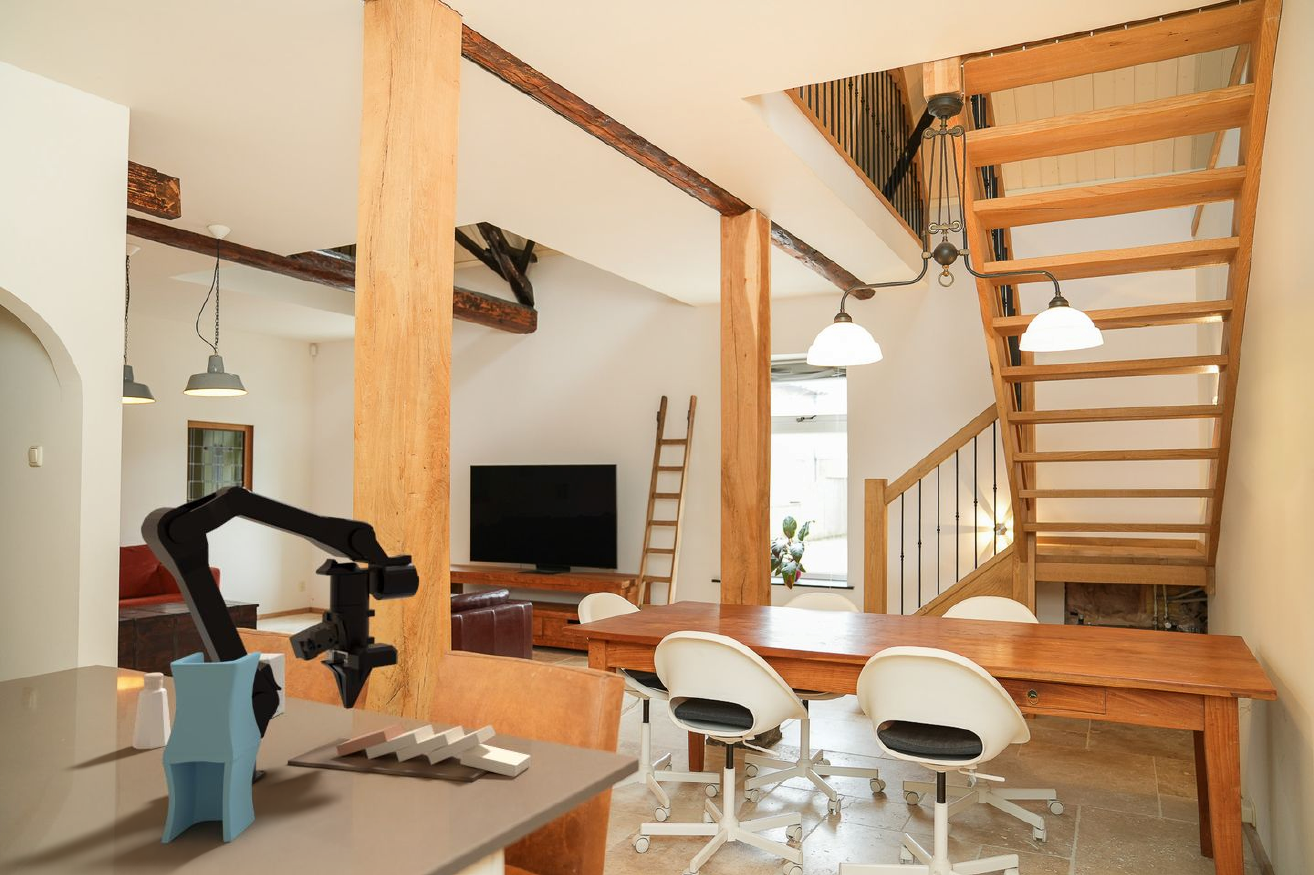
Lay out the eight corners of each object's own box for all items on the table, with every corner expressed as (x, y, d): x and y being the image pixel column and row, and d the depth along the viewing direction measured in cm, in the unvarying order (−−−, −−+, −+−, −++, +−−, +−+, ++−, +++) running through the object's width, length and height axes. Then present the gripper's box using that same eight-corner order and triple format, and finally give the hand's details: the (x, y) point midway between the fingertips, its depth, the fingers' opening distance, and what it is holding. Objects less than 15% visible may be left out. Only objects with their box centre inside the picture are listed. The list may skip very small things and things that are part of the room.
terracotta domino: (358, 747, 138) (405, 732, 136) (339, 756, 133) (386, 741, 131) (355, 737, 138) (402, 722, 136) (336, 746, 133) (383, 730, 131)
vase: (259, 816, 111) (262, 651, 112) (231, 841, 103) (234, 663, 104) (194, 817, 110) (197, 652, 111) (160, 843, 102) (164, 664, 103)
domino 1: (387, 750, 136) (434, 734, 134) (368, 759, 132) (417, 743, 130) (384, 739, 137) (431, 724, 135) (365, 748, 132) (413, 732, 130)
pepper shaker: (153, 738, 146) (155, 669, 146) (179, 741, 144) (180, 671, 144) (123, 748, 140) (125, 676, 141) (150, 751, 139) (151, 678, 139)
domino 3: (448, 755, 134) (495, 734, 132) (431, 764, 129) (480, 743, 127) (444, 744, 134) (491, 724, 132) (427, 754, 129) (475, 732, 127)
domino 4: (476, 754, 132) (529, 766, 130) (460, 763, 128) (514, 777, 125) (477, 743, 132) (530, 755, 130) (461, 752, 128) (516, 765, 125)
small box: (285, 712, 162) (286, 653, 163) (269, 720, 157) (270, 659, 157) (243, 711, 163) (244, 652, 164) (225, 719, 158) (226, 658, 158)
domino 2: (417, 752, 135) (464, 735, 133) (399, 762, 130) (448, 744, 128) (413, 742, 135) (461, 725, 133) (395, 751, 131) (444, 733, 129)
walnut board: (511, 756, 135) (511, 752, 135) (473, 781, 123) (473, 777, 123) (338, 741, 143) (338, 738, 143) (287, 764, 132) (287, 760, 132)
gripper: (270, 603, 138) (268, 707, 137) (327, 614, 125) (325, 730, 124) (339, 596, 146) (338, 695, 145) (400, 606, 133) (399, 714, 132)
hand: (348, 708), depth 136 cm, fingers closed
